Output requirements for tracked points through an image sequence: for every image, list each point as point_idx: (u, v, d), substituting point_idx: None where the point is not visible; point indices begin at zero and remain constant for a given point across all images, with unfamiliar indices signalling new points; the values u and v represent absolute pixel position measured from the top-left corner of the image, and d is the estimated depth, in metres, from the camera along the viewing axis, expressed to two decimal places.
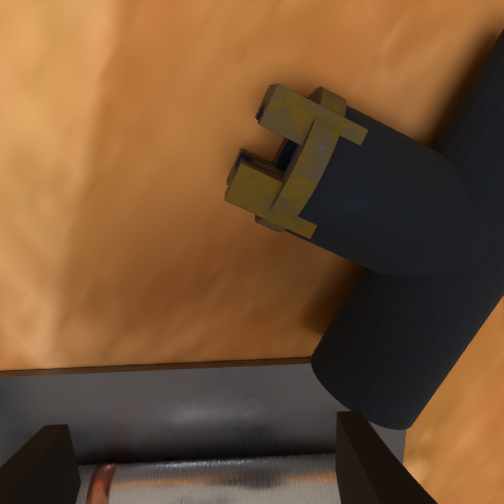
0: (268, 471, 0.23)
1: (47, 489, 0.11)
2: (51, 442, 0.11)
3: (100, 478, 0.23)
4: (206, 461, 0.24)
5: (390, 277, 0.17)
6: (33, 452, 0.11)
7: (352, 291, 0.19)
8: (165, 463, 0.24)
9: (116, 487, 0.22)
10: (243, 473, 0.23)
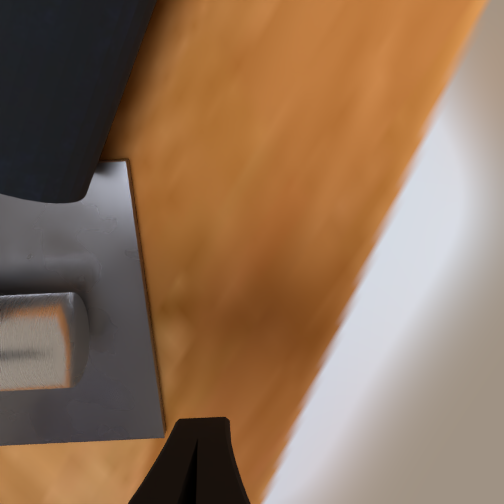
0: None
1: (196, 482, 0.11)
2: (197, 435, 0.11)
3: None
4: None
5: None
6: (184, 445, 0.11)
7: None
8: None
9: None
10: None
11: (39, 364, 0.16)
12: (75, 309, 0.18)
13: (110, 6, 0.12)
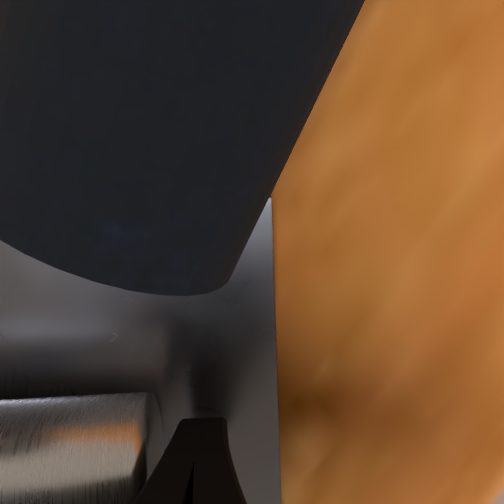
0: None
1: None
2: (200, 435, 0.11)
3: None
4: None
5: None
6: (187, 445, 0.11)
7: None
8: None
9: None
10: None
11: None
12: (150, 418, 0.12)
13: None
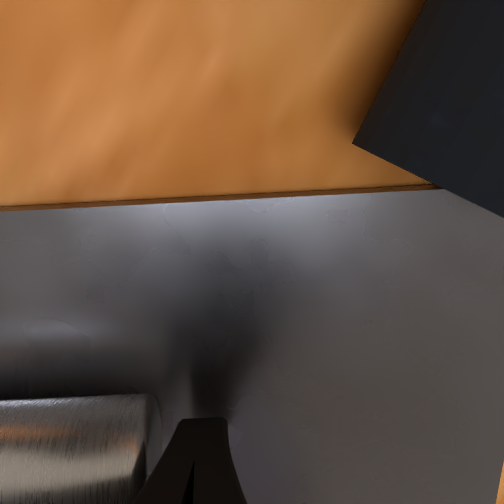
0: None
1: None
2: (200, 435, 0.11)
3: None
4: None
5: None
6: (187, 445, 0.11)
7: None
8: None
9: None
10: None
11: None
12: (151, 420, 0.12)
13: None
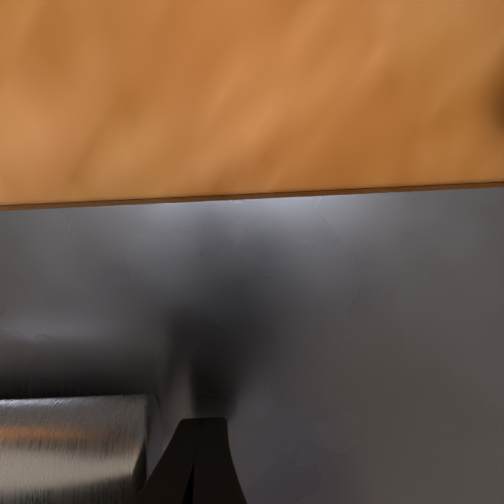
0: None
1: None
2: (200, 435, 0.11)
3: None
4: None
5: None
6: (187, 445, 0.11)
7: None
8: None
9: None
10: None
11: None
12: (151, 420, 0.12)
13: None
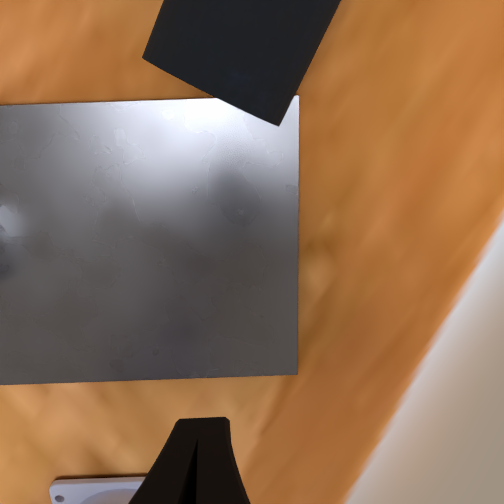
0: None
1: (197, 482, 0.11)
2: (197, 435, 0.11)
3: None
4: None
5: None
6: (184, 445, 0.11)
7: None
8: None
9: None
10: None
11: None
12: None
13: None
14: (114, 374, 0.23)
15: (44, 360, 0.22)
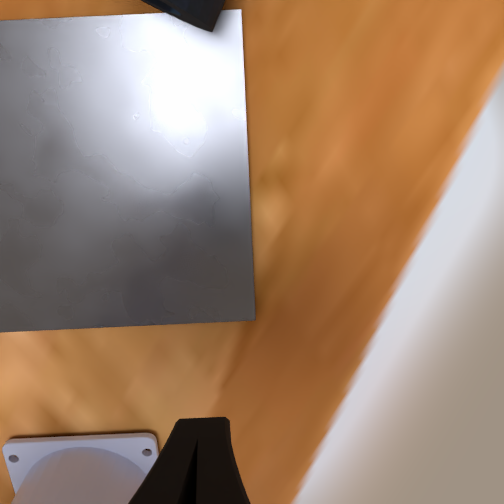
0: None
1: (197, 482, 0.11)
2: (197, 435, 0.11)
3: None
4: None
5: None
6: (184, 445, 0.11)
7: None
8: None
9: None
10: None
11: None
12: None
13: None
14: (63, 322, 0.22)
15: None
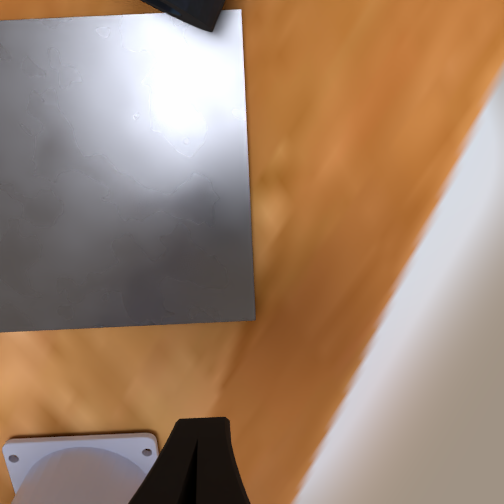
0: None
1: (197, 482, 0.11)
2: (197, 435, 0.11)
3: None
4: None
5: None
6: (184, 445, 0.11)
7: None
8: None
9: None
10: None
11: None
12: None
13: None
14: (63, 322, 0.22)
15: None
